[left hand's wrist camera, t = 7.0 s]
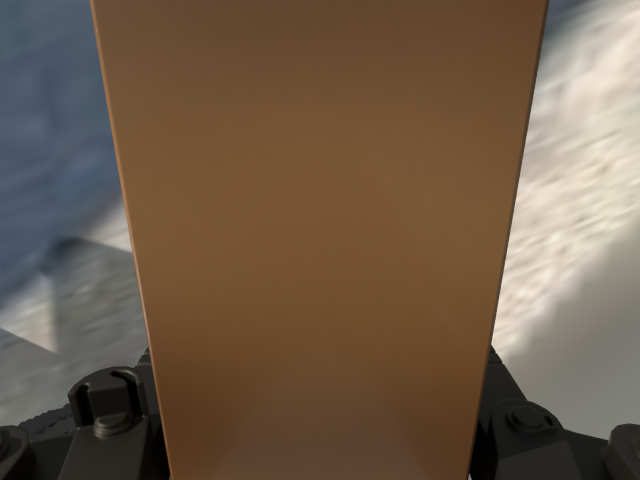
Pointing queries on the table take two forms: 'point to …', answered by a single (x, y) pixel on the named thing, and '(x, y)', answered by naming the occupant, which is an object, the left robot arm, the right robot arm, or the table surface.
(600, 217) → the table surface
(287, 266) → the beam
